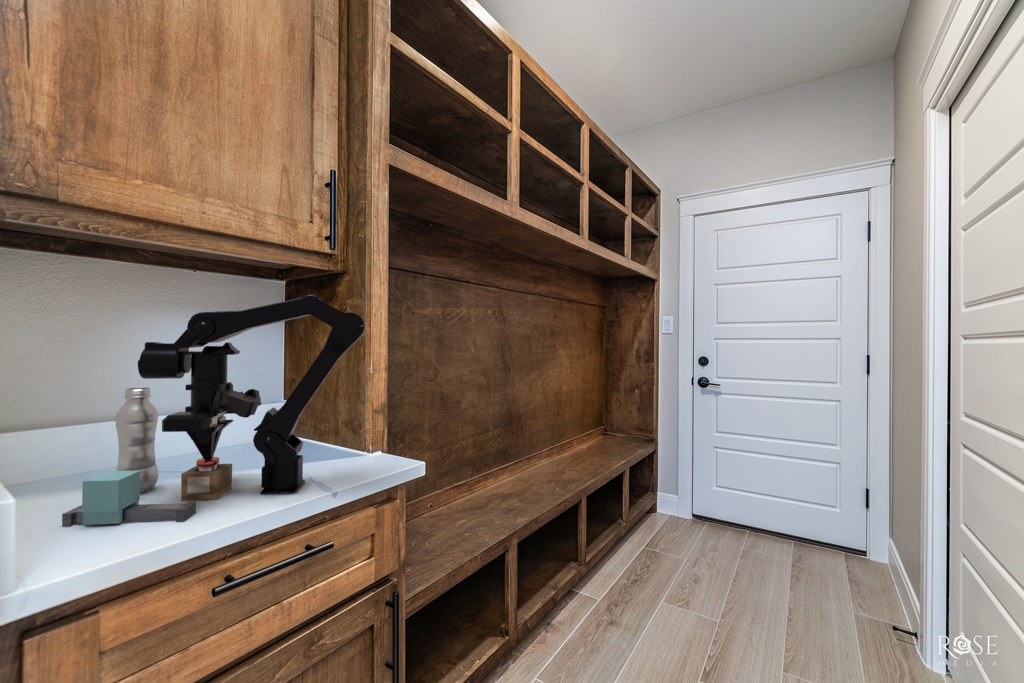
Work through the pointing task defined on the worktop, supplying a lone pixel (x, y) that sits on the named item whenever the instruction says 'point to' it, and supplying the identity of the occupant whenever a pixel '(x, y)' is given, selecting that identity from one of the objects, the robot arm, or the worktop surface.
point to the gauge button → (207, 464)
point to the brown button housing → (206, 483)
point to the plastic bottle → (137, 436)
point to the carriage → (109, 496)
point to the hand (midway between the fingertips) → (208, 459)
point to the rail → (141, 513)
